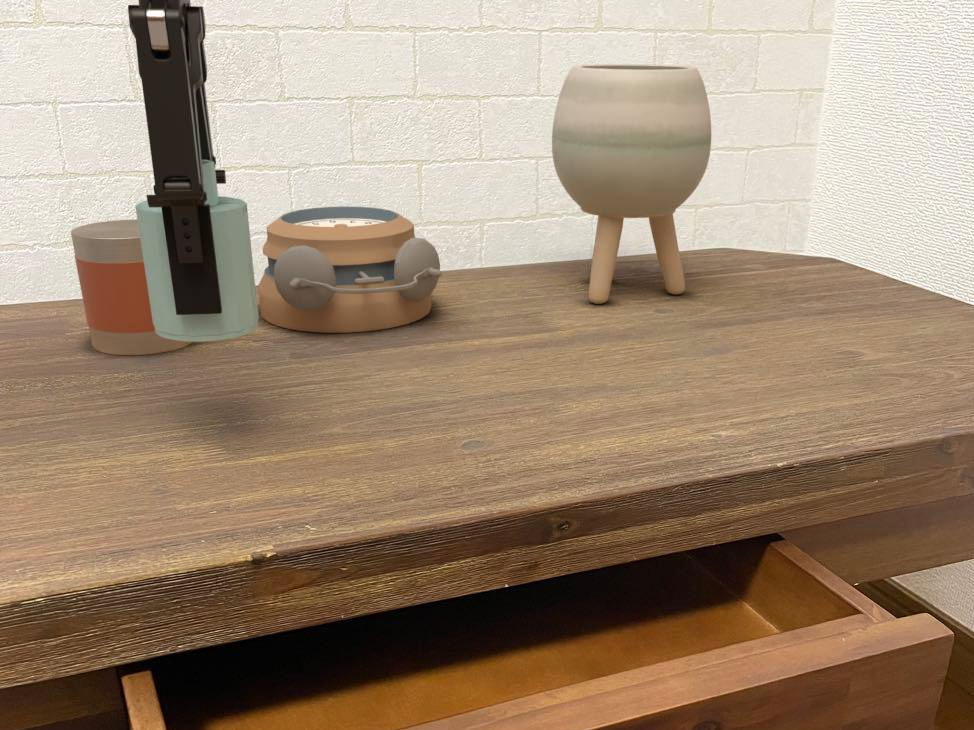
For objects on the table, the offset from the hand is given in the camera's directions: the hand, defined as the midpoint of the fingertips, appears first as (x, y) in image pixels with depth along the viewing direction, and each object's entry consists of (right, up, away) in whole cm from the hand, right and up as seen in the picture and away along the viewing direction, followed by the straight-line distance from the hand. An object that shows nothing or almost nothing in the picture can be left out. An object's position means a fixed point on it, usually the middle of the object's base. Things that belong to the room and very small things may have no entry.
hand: (203, 297), depth 69 cm
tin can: (-14, +2, +26) cm, 30 cm away
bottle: (0, -2, +1) cm, 2 cm away
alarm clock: (+4, +6, +34) cm, 35 cm away
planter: (+31, +11, +44) cm, 55 cm away
